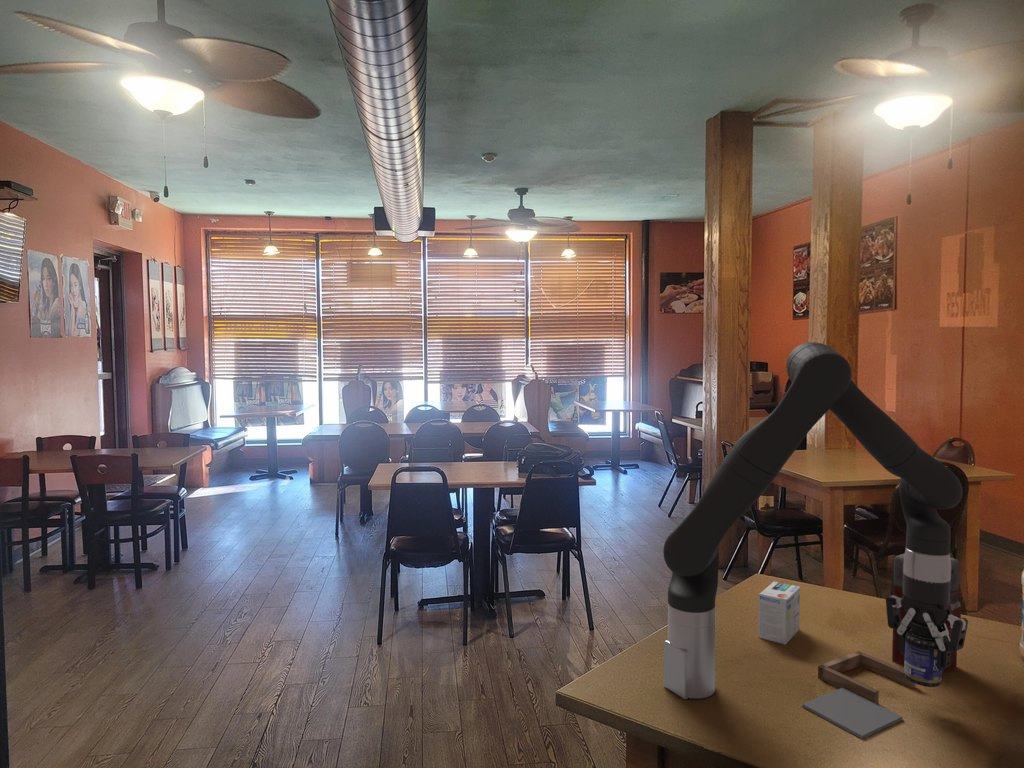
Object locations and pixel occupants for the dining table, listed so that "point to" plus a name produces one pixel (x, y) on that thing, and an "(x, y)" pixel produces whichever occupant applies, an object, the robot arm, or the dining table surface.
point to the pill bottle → (921, 656)
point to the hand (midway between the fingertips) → (923, 660)
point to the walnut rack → (833, 676)
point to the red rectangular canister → (898, 590)
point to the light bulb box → (779, 612)
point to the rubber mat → (852, 712)
